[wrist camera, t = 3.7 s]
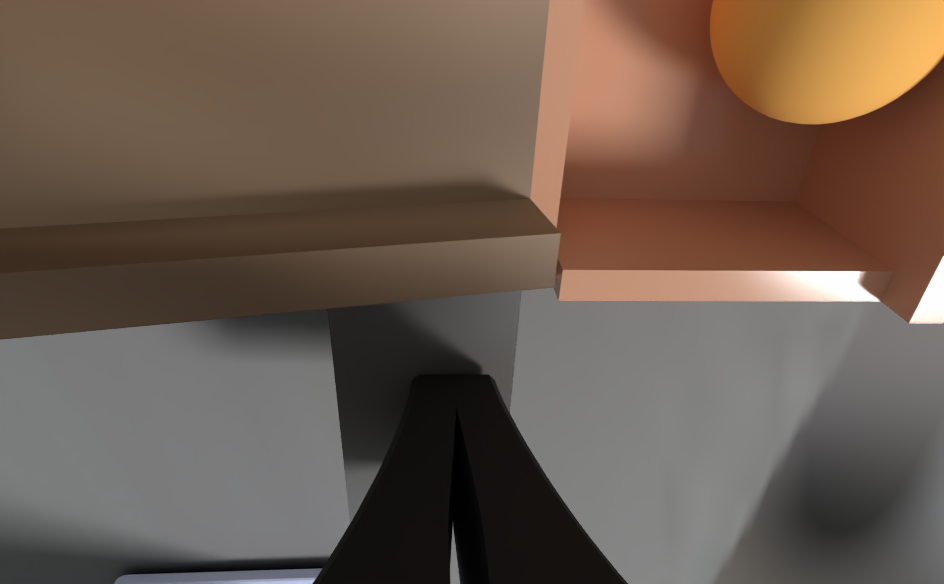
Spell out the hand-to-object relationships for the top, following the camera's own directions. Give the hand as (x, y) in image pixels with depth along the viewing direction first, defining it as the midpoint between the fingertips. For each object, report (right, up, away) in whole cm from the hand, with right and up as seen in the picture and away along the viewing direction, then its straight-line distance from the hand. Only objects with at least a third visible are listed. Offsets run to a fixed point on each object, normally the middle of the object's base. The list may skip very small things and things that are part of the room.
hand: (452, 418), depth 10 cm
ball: (+6, +7, -1) cm, 9 cm away
